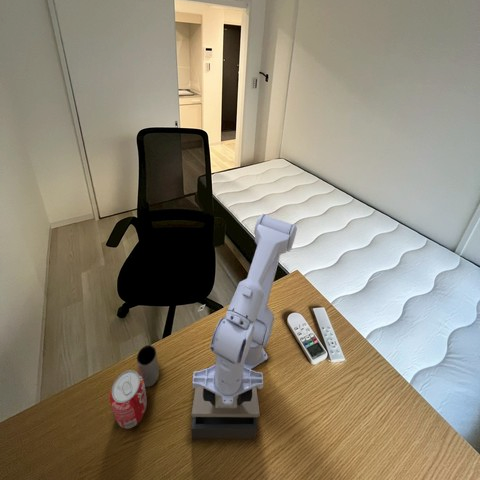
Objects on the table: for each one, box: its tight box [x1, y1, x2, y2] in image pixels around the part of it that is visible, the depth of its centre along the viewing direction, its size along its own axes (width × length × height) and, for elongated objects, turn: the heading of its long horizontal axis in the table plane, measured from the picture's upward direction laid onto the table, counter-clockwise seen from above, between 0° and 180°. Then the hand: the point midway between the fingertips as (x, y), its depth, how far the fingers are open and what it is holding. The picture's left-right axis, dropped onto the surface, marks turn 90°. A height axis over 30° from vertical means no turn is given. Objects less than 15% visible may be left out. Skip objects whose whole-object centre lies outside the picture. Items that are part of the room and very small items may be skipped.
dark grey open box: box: [190, 417, 258, 440], centre depth 59 cm, size 10×15×5 cm
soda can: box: [109, 369, 148, 430], centre depth 56 cm, size 7×7×12 cm
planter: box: [136, 344, 160, 388], centre depth 63 cm, size 4×4×10 cm
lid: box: [191, 386, 261, 418], centre depth 57 cm, size 11×15×4 cm
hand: (226, 399), depth 54 cm, fingers closed on lid, 5 cm apart
